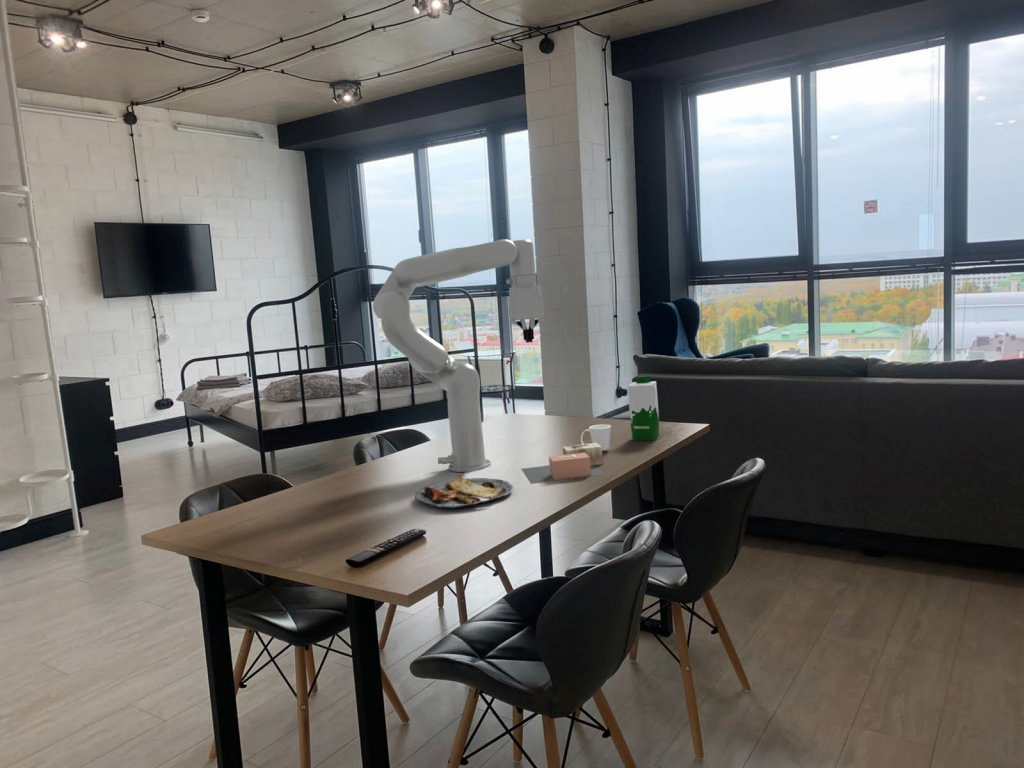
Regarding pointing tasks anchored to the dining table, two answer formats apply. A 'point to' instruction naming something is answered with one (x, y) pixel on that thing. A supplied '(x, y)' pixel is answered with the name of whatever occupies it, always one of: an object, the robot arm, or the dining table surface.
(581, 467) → the terracotta block
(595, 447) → the beech block
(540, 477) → the rubber mat
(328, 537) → the dining table surface
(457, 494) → the food plate
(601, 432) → the cup
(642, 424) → the milk carton
